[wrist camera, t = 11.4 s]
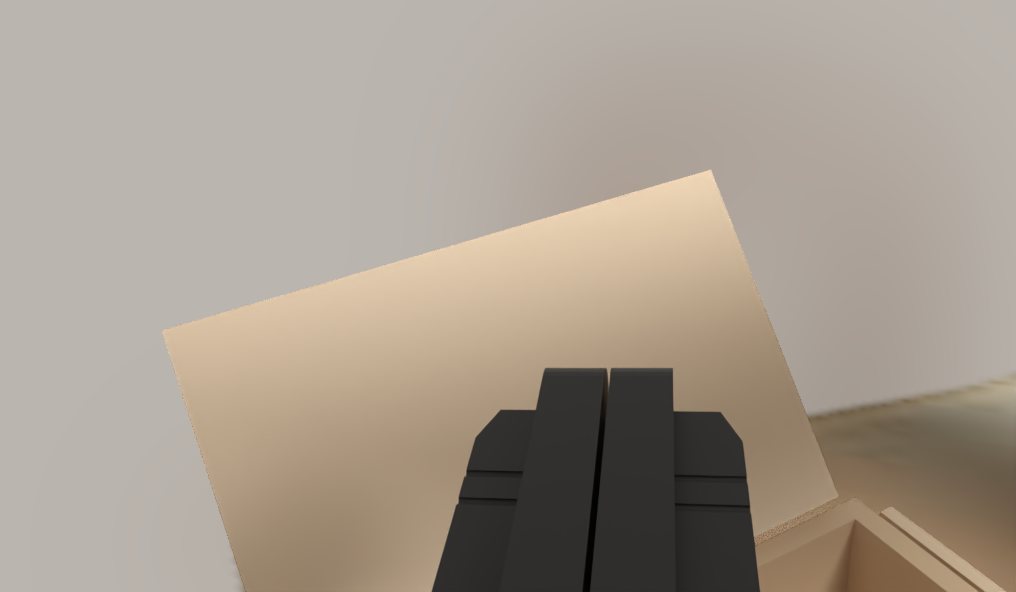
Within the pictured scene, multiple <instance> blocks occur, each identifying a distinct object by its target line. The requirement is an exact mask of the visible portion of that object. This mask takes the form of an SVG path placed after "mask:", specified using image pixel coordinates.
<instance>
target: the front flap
mask: <svg viewBox="0 0 1016 592" xmlns="http://www.w3.org/2000/svg"><path fill="white" fill-rule="evenodd" d="M162 333H163V336H164V339H165V343H166V346H167V349H168V352H169V355H170V358H171V361H172V364H173V367H174V371H175V374H176V377H177V379H178V383H179V386H180V389H181V392H182V396H183V399H184V401H185V405H186V408H187V411H188V414H189V417H190V420H191V423H192V427H193V430H194V433H195V436H196V439H197V442H198V445H199V448H200V452H201V455H202V458H203V461H204V464H205V467H206V470H207V473H208V476H209V479H210V482H211V486H212V489H213V492H214V495H215V498H216V501H217V504H218V508H219V511H220V514H221V517H222V520H223V523H224V526H225V529H226V532H227V536H228V539H229V541H230V545H231V548H232V551H233V554H234V557H235V560H236V564H237V567H238V570H239V573H240V576H241V579H242V582H243V585H244V588H245V592H432V588H433V585H434V581H435V578H436V574H437V571H438V567H439V564H440V560H441V557H442V553H443V550H444V546H445V543H446V539H447V535H448V532H449V528H450V525H451V521H452V518H453V514H454V511H455V507H456V504H458V502H459V498H458V497H459V493H460V490H461V486H462V483H463V479H464V476H465V477H466V469H467V465H468V462H469V458H470V455H471V451H472V448H473V444H474V441H475V437H476V436H477V435H478V434H479V433H480V432H481V431H482V430H483V429H484V427H485V426H486V425H487V424H488V423H489V422H490V421H491V420H492V419H493V418H494V416H495V415H496V414H497V413H498V412H499V411H500V410H536V406H537V401H538V396H539V391H540V386H541V382H542V377H543V372H544V370H545V368H607V373H608V383H609V381H610V371H611V368H673V406H674V411H694V412H721V413H722V414H723V416H724V417H725V418H726V420H727V421H728V422H729V424H730V425H731V426H732V428H733V429H734V430H735V432H736V433H737V434H738V436H739V437H740V438H741V440H742V441H743V447H744V455H745V464H746V473H747V483H748V490H749V499H750V513H751V516H752V525H753V534H754V537H756V536H758V535H760V534H762V533H764V532H766V531H768V530H770V529H772V528H775V527H777V526H779V525H781V524H783V523H785V522H787V521H789V520H791V519H793V518H795V517H797V516H800V515H802V514H804V513H806V512H808V511H810V510H812V509H814V508H816V507H818V506H820V505H822V504H825V503H827V502H829V501H831V500H833V499H835V498H837V497H839V496H838V494H837V491H836V489H835V486H834V483H833V481H832V478H831V476H830V473H829V471H828V468H827V466H826V463H825V460H824V458H823V455H822V453H821V450H820V448H819V445H818V442H817V440H816V437H815V435H814V432H813V430H812V427H811V425H810V422H809V419H808V417H807V414H806V412H805V409H804V407H803V404H802V402H801V399H800V396H799V394H798V392H797V389H796V386H795V384H794V381H793V379H792V376H791V374H790V371H789V368H788V366H787V363H786V361H785V358H784V356H783V353H782V351H781V348H780V345H779V343H778V340H777V338H776V335H775V333H774V330H773V327H772V325H771V322H770V320H769V317H768V315H767V312H766V310H765V307H764V305H763V302H762V299H761V297H760V294H759V292H758V289H757V286H756V284H755V282H754V279H753V276H752V274H751V271H750V269H749V266H748V263H747V261H746V258H745V256H744V253H743V251H742V248H741V246H740V243H739V240H738V238H737V236H736V233H735V230H734V228H733V225H732V222H731V220H730V217H729V215H728V212H727V210H726V207H725V205H724V202H723V200H722V197H721V194H720V192H719V189H718V187H717V184H716V182H715V179H714V177H713V174H712V171H711V170H708V171H705V172H701V173H698V174H695V175H691V176H688V177H685V178H681V179H678V180H674V181H671V182H667V183H664V184H660V185H657V186H654V187H650V188H647V189H644V190H640V191H636V192H633V193H630V194H626V195H623V196H620V197H617V198H613V199H609V200H606V201H602V202H599V203H596V204H592V205H589V206H585V207H582V208H578V209H575V210H572V211H569V212H565V213H561V214H558V215H555V216H551V217H548V218H545V219H541V220H538V221H534V222H531V223H527V224H524V225H520V226H517V227H514V228H510V229H507V230H503V231H500V232H497V233H493V234H490V235H487V236H483V237H480V238H476V239H473V240H469V241H466V242H462V243H459V244H456V245H453V246H449V247H446V248H442V249H439V250H436V251H432V252H428V253H425V254H421V255H418V256H415V257H411V258H408V259H405V260H401V261H398V262H394V263H391V264H388V265H384V266H381V267H377V268H374V269H370V270H367V271H363V272H360V273H357V274H353V275H350V276H346V277H343V278H340V279H336V280H333V281H329V282H326V283H323V284H319V285H316V286H312V287H309V288H305V289H302V290H299V291H295V292H292V293H289V294H285V295H282V296H278V297H275V298H271V299H268V300H265V301H261V302H258V303H254V304H251V305H248V306H244V307H241V308H237V309H234V310H231V311H227V312H224V313H220V314H217V315H213V316H210V317H207V318H203V319H200V320H196V321H193V322H189V323H186V324H183V325H180V326H176V327H172V328H169V329H166V330H162Z"/></svg>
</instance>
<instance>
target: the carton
mask: <svg viewBox="0 0 1016 592" xmlns="http://www.w3.org/2000/svg"><path fill="white" fill-rule="evenodd" d="M755 551H756V560H757V569H758V577H759V586H760V592H1006V591H1005V590H1003V589H1002V588H1001V587H999V586H998V585H997V584H995V583H994V582H993V581H991V580H990V579H989V578H987V577H986V576H984V575H983V574H982V573H980V572H979V571H978V570H976V569H975V568H974V567H972V566H971V565H970V564H968V563H967V562H966V561H964V560H963V559H962V558H960V557H959V556H958V555H956V554H955V553H954V552H952V551H951V550H950V549H948V548H947V547H946V546H944V545H943V544H942V543H940V542H939V541H938V540H936V539H935V538H934V537H932V536H931V535H930V534H928V533H927V532H925V531H924V530H923V529H921V528H920V527H919V526H917V525H916V524H915V523H913V522H912V521H911V520H909V519H908V518H907V517H905V516H904V515H903V514H901V513H900V512H899V511H897V510H896V509H895V508H893V507H892V506H891V507H889V508H887V509H885V510H883V511H881V512H880V516H879V515H878V514H877V513H875V512H874V511H873V510H872V509H870V508H869V507H868V506H866V505H865V504H864V503H862V502H861V501H860V500H859V499H857V498H856V497H855V498H853V499H850V500H848V501H846V502H844V503H842V504H840V505H838V506H836V507H834V508H832V509H830V510H828V511H826V512H824V513H822V514H819V515H817V516H815V517H813V518H811V519H809V520H807V521H805V522H803V523H801V524H799V525H797V526H795V527H793V528H791V529H789V530H786V531H784V532H782V533H780V534H778V535H776V536H774V537H772V538H770V539H768V540H766V541H764V542H762V543H760V544H758V545H756V546H755Z"/></svg>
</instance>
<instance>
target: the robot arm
mask: <svg viewBox="0 0 1016 592" xmlns="http://www.w3.org/2000/svg"><path fill="white" fill-rule="evenodd" d="M458 498H459V502H458V504H456V507H455V511H454V514H453V518H452V521H451V525H450V528H449V532H448V535H447V539H446V543H445V546H444V550H443V553H442V557H441V560H440V564H439V567H438V571H437V574H436V578H435V581H434V585H433V588H432V592H760V586H759V577H758V569H757V560H756V551H755V542H754V534H753V525H752V516H751V513H750V499H749V490H748V483H747V473H746V464H745V455H744V447H743V441H742V440H741V438H740V437H739V436H738V434H737V433H736V432H735V430H734V429H733V428H732V426H731V425H730V424H729V422H728V421H727V420H726V418H725V417H724V416H723V414H722V413H721V412H694V411H674V406H673V368H611V371H610V381H609V383H608V373H607V368H545V370H544V372H543V377H542V382H541V386H540V391H539V396H538V401H537V406H536V410H500V411H499V412H498V413H497V414H496V415H495V416H494V418H493V419H492V420H491V421H490V422H489V423H488V424H487V425H486V426H485V427H484V429H483V430H482V431H481V432H480V433H479V434H478V435H477V436H476V437H475V441H474V444H473V448H472V451H471V455H470V458H469V462H468V465H467V469H466V477H465V476H464V479H463V483H462V486H461V490H460V493H459V497H458Z"/></svg>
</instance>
